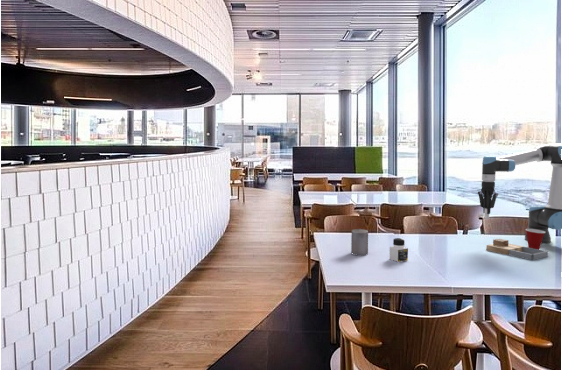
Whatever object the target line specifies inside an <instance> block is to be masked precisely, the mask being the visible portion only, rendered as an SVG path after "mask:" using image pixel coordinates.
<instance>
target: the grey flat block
mask: <svg viewBox="0 0 562 370" xmlns="http://www.w3.org/2000/svg"><path fill="white" fill-rule="evenodd" d="M548 252H549V251H547V250H543V249H539V250H538V249H533V248H528V247H527V246H524V247H523V252H520V251H515V250H509V255H508V256H512V257H517V258H522V259H526V260H530V261H535V260H539V259H543V258H547V257H549V255H548Z"/></svg>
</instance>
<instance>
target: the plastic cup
mask: <svg viewBox="0 0 562 370" xmlns="http://www.w3.org/2000/svg"><path fill="white" fill-rule="evenodd" d="M525 234H527V240H526V241H527V246H528V248H533V249H538V250H541V245H542V243H541V242H542V239H543V236H544V234H545V231H541V230H536V229H528V228H525Z"/></svg>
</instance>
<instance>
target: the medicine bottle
mask: <svg viewBox="0 0 562 370" xmlns="http://www.w3.org/2000/svg"><path fill="white" fill-rule="evenodd" d="M405 244H406V243H405V238H401V237H400V238H399V237H396V238H393V242H392V246H389V256H388V257H389V260H390V259H391V261H393V260H394V261H393V262H396V261H397V263H401V261H402V262H407V261H408V260H409V259H408V258H409V255H408V254H409V248H408V247H405Z"/></svg>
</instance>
